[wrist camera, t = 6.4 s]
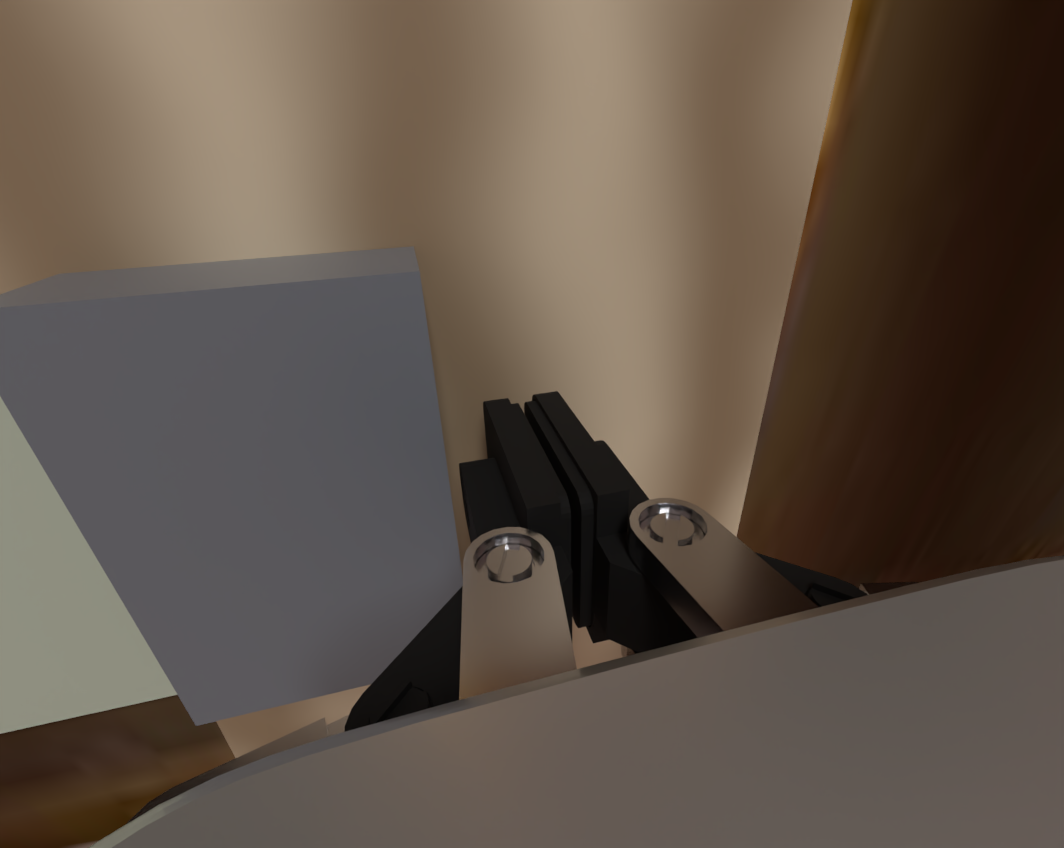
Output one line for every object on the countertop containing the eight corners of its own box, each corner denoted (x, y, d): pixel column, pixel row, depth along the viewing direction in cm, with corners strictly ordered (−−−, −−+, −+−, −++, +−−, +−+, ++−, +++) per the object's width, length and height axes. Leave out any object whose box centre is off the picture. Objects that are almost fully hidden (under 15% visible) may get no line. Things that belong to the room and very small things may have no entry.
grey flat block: (413, 246, 10) (419, 271, 8) (461, 583, 14) (474, 659, 12) (59, 273, 9) (-51, 312, 7) (228, 631, 13) (196, 725, 11)
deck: (750, -99, 12) (895, -201, 9) (660, 582, 22) (709, 659, 19) (-71, -168, 9) (-369, -379, 5) (272, 667, 19) (246, 778, 16)
